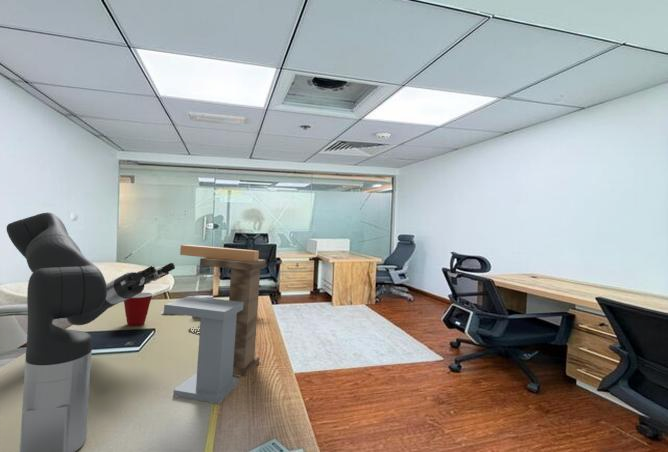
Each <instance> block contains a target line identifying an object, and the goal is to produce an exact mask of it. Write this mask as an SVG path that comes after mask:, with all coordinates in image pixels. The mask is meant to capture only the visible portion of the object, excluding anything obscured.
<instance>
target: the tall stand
mask: <svg viewBox="0 0 668 452" xmlns="http://www.w3.org/2000/svg"><path fill="white" fill-rule="evenodd" d="M199 258H200V259H199V266H203V267H212V268H222V269H223V268H224V269H230V279H229V283H230V284H229V294H228V295H229V297H228V300H230V301H238V302H244V303H243V310H241V311H240V312H238V313H237V318H236V333H235V348H234V363H233V376H238V377H246V376H247V375H248V374H249V373H250V372H251V371H252V370H253V369H254V368H255V367H256V366H257V364H259V363H260V356H256V355H255V354H256V342H257V341H256V340H257V339H256V338H257V337H256V336H257V326H258V307H259V293H260V292H259V291H260V280H261V279H260V278H261V268H263V267H266V264H267V263H266V261H267V260H266V259H262V258H261V259H260V258H258V261H255V262H252V261H241V260H230V259H219V258H208V257H199Z"/></svg>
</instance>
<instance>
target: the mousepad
mask: <svg viewBox="0 0 668 452" xmlns="http://www.w3.org/2000/svg"><path fill="white" fill-rule="evenodd" d="M191 328H192V327H191ZM191 328H189V329H188V333H190V332H192V331H191ZM192 330H193V329H192ZM195 330H196V332H195ZM193 332H194V333H197V332H200V329H199V331H198V329H194V331H193ZM194 333H193V334H194ZM198 334H199V335H200V333H198ZM198 334H197V335H198Z"/></svg>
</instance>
